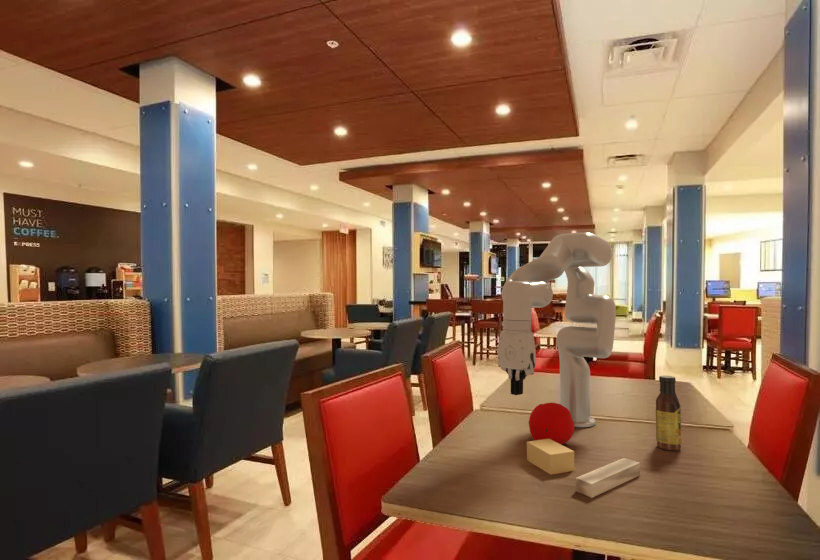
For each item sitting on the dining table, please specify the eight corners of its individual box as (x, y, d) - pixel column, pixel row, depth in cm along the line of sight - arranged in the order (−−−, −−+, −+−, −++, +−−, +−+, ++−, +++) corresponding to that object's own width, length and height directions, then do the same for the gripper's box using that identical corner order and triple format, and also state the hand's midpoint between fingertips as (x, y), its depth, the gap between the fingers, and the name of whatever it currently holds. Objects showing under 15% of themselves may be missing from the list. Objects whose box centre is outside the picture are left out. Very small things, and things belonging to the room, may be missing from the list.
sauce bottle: (684, 452, 129) (684, 379, 129) (660, 451, 130) (659, 378, 130) (676, 444, 136) (676, 374, 136) (652, 443, 137) (652, 374, 137)
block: (526, 460, 124) (526, 441, 124) (549, 457, 127) (549, 438, 127) (550, 475, 115) (550, 454, 115) (574, 471, 117) (574, 451, 117)
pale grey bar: (575, 491, 105) (575, 477, 106) (624, 469, 117) (624, 457, 117) (592, 497, 102) (592, 484, 102) (639, 475, 114) (639, 462, 114)
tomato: (548, 462, 130) (565, 449, 141) (574, 428, 126) (589, 418, 137) (513, 429, 137) (531, 419, 148) (536, 396, 133) (554, 388, 144)
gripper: (487, 325, 133) (487, 390, 133) (530, 329, 121) (529, 401, 121) (505, 324, 137) (505, 387, 137) (548, 328, 125) (548, 397, 125)
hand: (516, 394), depth 129 cm, fingers closed
